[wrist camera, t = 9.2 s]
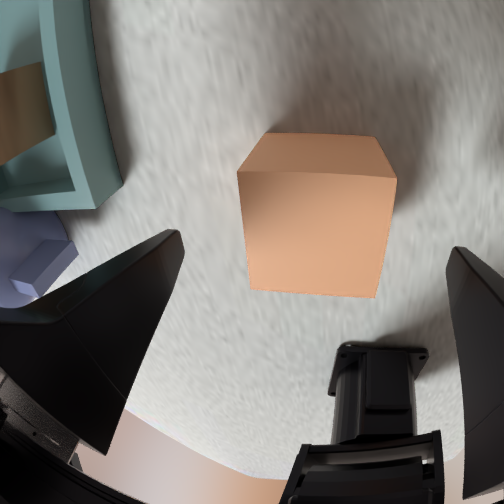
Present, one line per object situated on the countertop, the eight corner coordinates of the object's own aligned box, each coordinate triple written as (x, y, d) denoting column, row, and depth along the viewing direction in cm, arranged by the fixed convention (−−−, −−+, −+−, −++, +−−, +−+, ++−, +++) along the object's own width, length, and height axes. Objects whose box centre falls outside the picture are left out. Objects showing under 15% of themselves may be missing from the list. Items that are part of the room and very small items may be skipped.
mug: (109, 273, 20) (54, 349, 14) (32, 262, 22) (-15, 316, 16) (74, 181, 16) (-9, 251, 10) (1, 192, 18) (-59, 243, 12)
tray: (123, 185, 15) (95, 208, 13) (11, 196, 18) (-10, 213, 16) (88, -99, 4) (58, -107, 2) (-25, -7, 7) (-50, -2, 5)
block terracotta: (365, 230, 14) (375, 298, 10) (271, 224, 15) (250, 289, 11) (374, 136, 11) (397, 178, 8) (265, 132, 12) (236, 171, 9)
